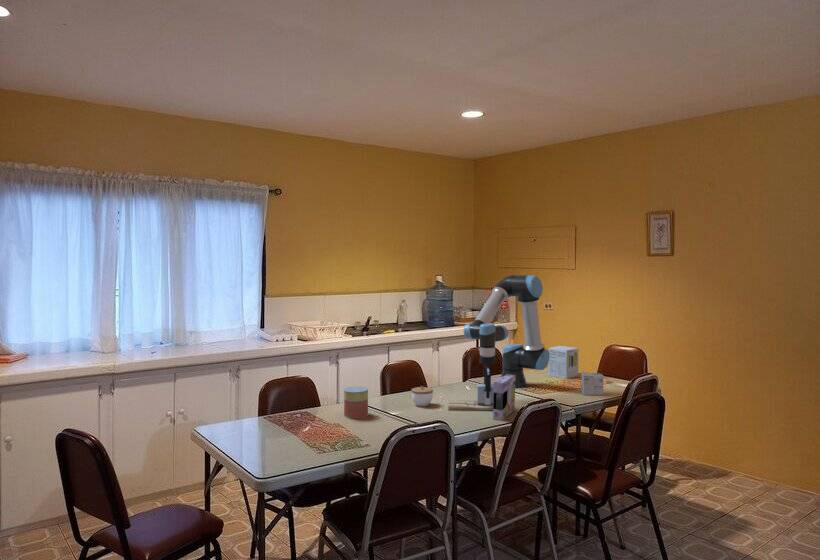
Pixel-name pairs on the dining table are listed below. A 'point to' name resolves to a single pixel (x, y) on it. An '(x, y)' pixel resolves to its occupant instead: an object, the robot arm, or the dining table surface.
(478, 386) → the block
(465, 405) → the board
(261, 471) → the dining table surface
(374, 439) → the dining table surface
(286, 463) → the dining table surface
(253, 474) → the dining table surface
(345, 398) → the canned food
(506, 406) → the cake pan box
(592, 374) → the light bulb box
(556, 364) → the supplement box
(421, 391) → the lidded jar
